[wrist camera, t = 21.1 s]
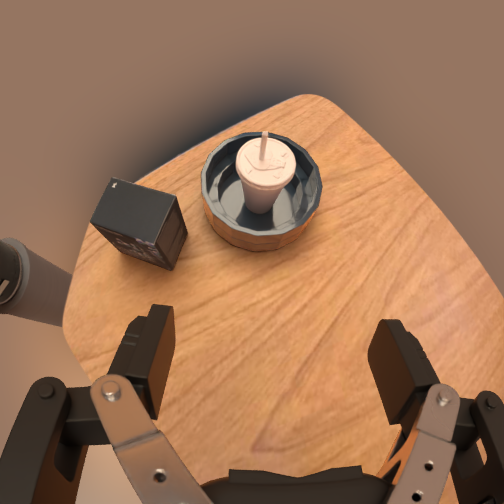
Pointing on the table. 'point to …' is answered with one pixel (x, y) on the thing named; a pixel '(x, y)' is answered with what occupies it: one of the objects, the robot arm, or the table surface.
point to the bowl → (233, 203)
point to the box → (141, 222)
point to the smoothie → (264, 171)
